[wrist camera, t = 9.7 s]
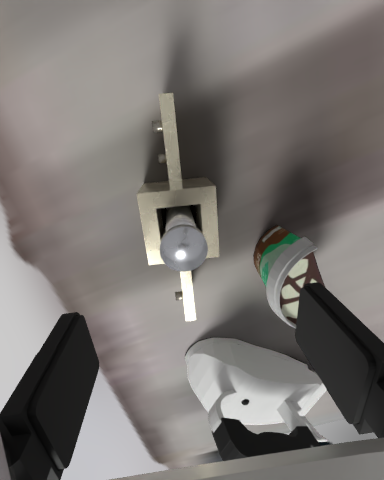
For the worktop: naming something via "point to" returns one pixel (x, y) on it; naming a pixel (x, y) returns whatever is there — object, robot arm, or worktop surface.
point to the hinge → (176, 202)
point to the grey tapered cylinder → (182, 241)
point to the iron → (253, 396)
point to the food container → (285, 270)
